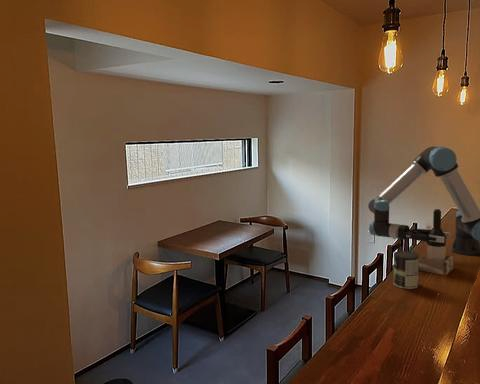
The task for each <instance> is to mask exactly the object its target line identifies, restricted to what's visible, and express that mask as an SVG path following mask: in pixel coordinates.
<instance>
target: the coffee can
mask: <svg viewBox="0 0 480 384" xmlns="http://www.w3.org/2000/svg"><path fill="white" fill-rule="evenodd" d="M419 258H420V255H419V253H417V252H414V251H408V250H398V251H395V252H393V283H392V284H393V286H395V287H397V288H400V289H406V290H412V289H417V288H418V287H419Z"/></svg>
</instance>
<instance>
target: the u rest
mask: <svg viewBox="0 0 480 384" xmlns="http://www.w3.org/2000/svg"><path fill="white" fill-rule="evenodd" d="M425 255H426V256H425V258H424V257H419V261H418V271H421V272H427V273H433V274H438V275H442V276H447V275H448V274H449V273H450V272H451V271H452V270H454V267H455V265H454V263H455V260H454V259H455V256H454V255H453V256H452V255H447V254H445V262H443V261H437V260H431V259H427V252H426V254H425Z"/></svg>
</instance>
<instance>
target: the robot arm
mask: <svg viewBox="0 0 480 384" xmlns="http://www.w3.org/2000/svg"><path fill="white" fill-rule="evenodd" d="M458 168H459V164H458V163H457V155H456V153H455V151H454V150H452V149H450V148H448V147H446V146H429V147H428V148H425V149H424V150H423V151H422V152H421V153H420V154H419V155H417V156H416V157H415V158H414V159H413V160H412V162H411V165H409V166H408V167H407V169H405V170H404V171H403V172H402V173H401V174H400V175H399V176H398V177H397V178H396V179H394V180H393V182H392V183H390V184H389V185H388V186H387V187H385V189H384V190H383V191H382V192H380V193H379V194H378V195H377V196H376V197H375V198H372V199H370V200H369V202H368V203H367V207H368V209H369V211H370V213H372V214H373V216H374V217H373V219H374V220H373V221H371V222H370V223H369V227H368V231H369V234H370V235H372V236H376V237H383V238H390V239H393V240H395V239H399V240H403V241H404V240H405V241H407V240H408V239H411V240H413V241H414V240H415V241H420V242H424V243H426V244H427V243H428V242H429V241H433V242H440V243H444V237H440V236H432V235H429V233H430V232H431V230H432V229H424V228H412V229H410V226H409V225H408V224H407V225H406V224H398V223H391V222H390V204H391V203H392V202H393V201H394V200H395V199H397V198H398V197H399V196H400V195H401V194H403V192H404V191H406V190H407V188H409V187H410V186H412V185H413V183H414V182H415V181H416V180H418V178H420V177H421V176H422V175H423V174H427V173H428V172H429V171H432V172H433V175H434V177H436V178H440V180H441V182H442V183H443V185H444V187H445V189H446V190H447V192H448V195H450V198H451V199H452V201H453V203H454V205H455V206H456V208H457V210H458V211H456V213H455V216H454V217H455V225H454V226H455V230H454V231H455V233H454V239H453V241H452V244H451V246H450V249H451V250H450V251H451V252H453V253H456V254H459V255H464V256H465V255H466V256H478V255H480V208H479V206H478V204H477V202H476V201H475V198H474V197H473V196H472V193H471V192H470V190H469V188H468V187H467V185H466V183H465V182H464V180H463V178H462V176H461V175H460V173H459V171H458ZM443 233H444V234H445V236H446V239H451V232H446V231H445V232H444V231H443ZM428 235H429V236H428Z"/></svg>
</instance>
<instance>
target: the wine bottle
mask: <svg viewBox="0 0 480 384" xmlns="http://www.w3.org/2000/svg"><path fill="white" fill-rule="evenodd" d="M432 221H433V222H432V224H433V225H432V229H430V230H431V232H430V233H429V235H432V236H440V237H444V243H440V242H433V241H429V242H428V243H427V242H426V250H427V251H426V253H427V259H431V260H437V261H443V262H445V255H446V253H447V252H446V251H447V249H446V248H447V247H446V246H447V245H446V244H447V238H446V236H445V234H444V233H443V232H444V231H443V230H442V228H441V227H442V226H441V225H442V211H441V209H439V208H434V210H433V220H432ZM429 235H428V236H429Z"/></svg>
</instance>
